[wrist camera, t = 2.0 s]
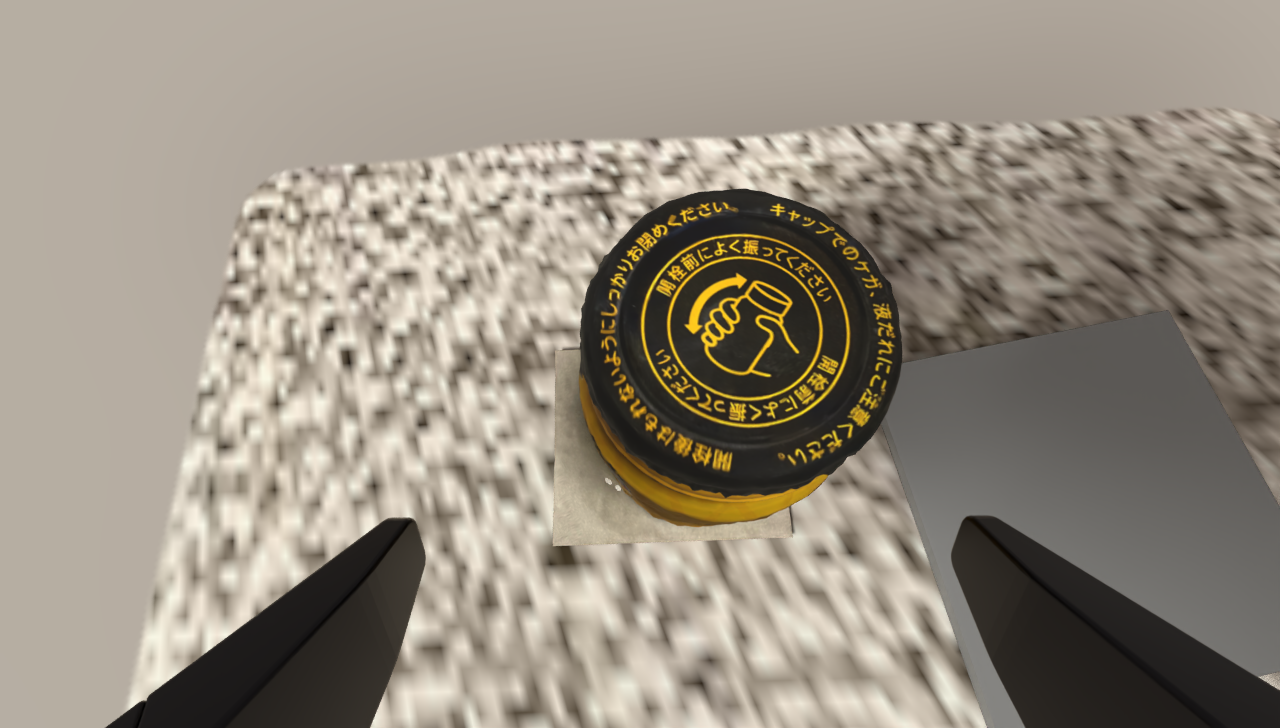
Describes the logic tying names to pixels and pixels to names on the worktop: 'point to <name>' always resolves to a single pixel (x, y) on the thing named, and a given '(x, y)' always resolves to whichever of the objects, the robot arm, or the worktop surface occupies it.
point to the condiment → (719, 372)
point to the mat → (1095, 481)
